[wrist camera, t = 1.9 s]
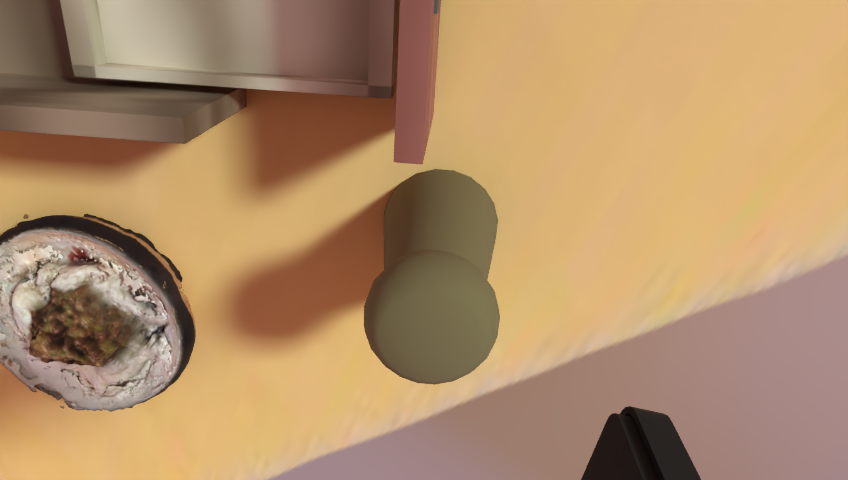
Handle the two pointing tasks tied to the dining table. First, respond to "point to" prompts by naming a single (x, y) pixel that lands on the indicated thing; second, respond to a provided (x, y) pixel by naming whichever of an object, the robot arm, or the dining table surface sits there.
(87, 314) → the pie
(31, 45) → the caddy
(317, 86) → the drawer
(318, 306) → the dining table surface
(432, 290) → the olive green pawn
